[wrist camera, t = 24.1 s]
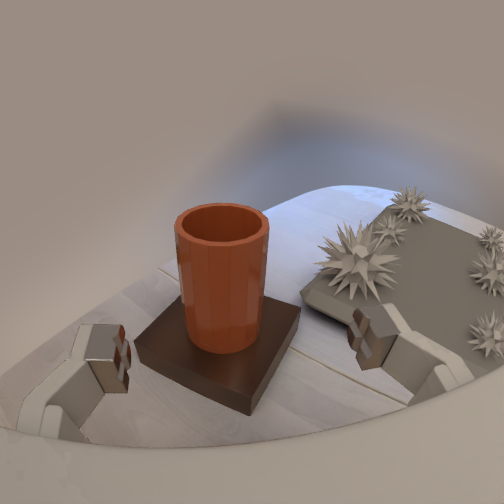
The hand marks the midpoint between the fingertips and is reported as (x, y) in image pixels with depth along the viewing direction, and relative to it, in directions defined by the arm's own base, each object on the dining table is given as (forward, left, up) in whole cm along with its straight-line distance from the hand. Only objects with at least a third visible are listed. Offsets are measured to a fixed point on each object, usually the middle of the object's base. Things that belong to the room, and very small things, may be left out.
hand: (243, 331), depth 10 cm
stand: (-7, +10, -15) cm, 19 cm away
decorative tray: (+13, +32, -15) cm, 38 cm away
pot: (-6, +10, -12) cm, 17 cm away
